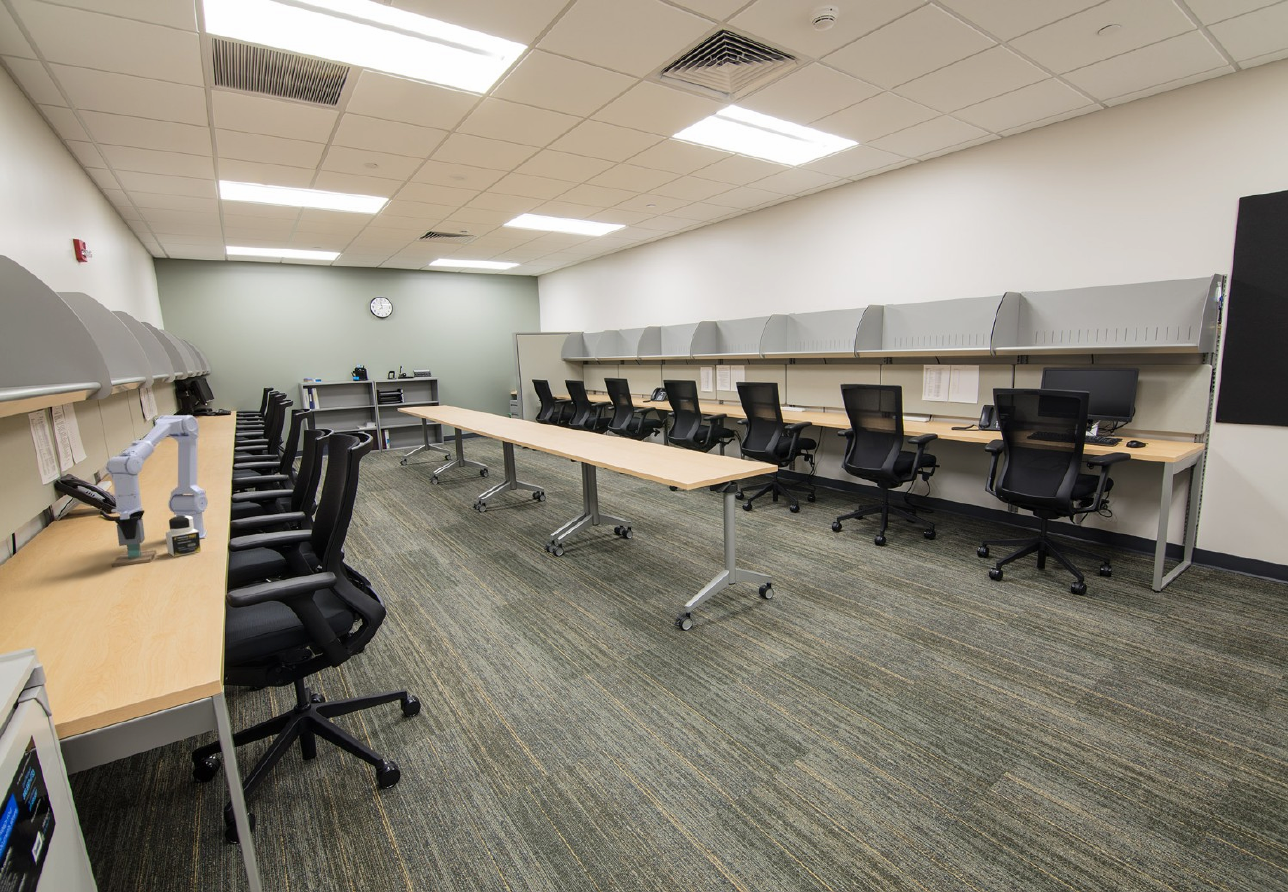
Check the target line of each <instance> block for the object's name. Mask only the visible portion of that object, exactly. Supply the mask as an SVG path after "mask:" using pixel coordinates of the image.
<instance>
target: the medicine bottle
mask: <svg viewBox="0 0 1288 892" xmlns="http://www.w3.org/2000/svg"><path fill="white" fill-rule="evenodd" d="M168 525H169V531H166V532H165V538H166V547H167V548H166V549H167V553H168V554H169V555H171V556H173V557H174V558H176V557H180V556H186V555H191V554H195V553H200V552H201V550H202V549H201V541H200V539H201V538H199V531H197V530H196V529H194V525H193V517H191V516H177V517H176V516H174V517H171V518H169V520H168Z"/></svg>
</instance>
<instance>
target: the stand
mask: <svg viewBox="0 0 1288 892" xmlns="http://www.w3.org/2000/svg"><path fill="white" fill-rule="evenodd" d="M140 544H141V543H140ZM140 544H132V545H126V550H127V553H123V554H118V556H117V557H116V558H115V560H113V562H112V563H111V568H115V566H117V567H122V566H123V567H124V566H129V565H130V564H131V565H138V564H139V565H140V564H145V563H151V562H152V561H153V559H154V557H156V555H157V549H155V550H147V551H141V545H140Z"/></svg>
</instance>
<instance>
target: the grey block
mask: <svg viewBox="0 0 1288 892" xmlns="http://www.w3.org/2000/svg"><path fill="white" fill-rule="evenodd" d="M144 527H145V526H144V520H143V519H139V520H138V522H137V526H136V536H135V539H128V540H126V539H125V537H124V535H123V532H122V530H121V528H120V527H119V525H118V524H117V523H116V531H117V537H118V539H117V540H118V546H119V547H121V546H122V547H124V546H127V545H132V544H143V542H144V541H145V539H146V537H145V528H144Z"/></svg>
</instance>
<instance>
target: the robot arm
mask: <svg viewBox="0 0 1288 892" xmlns="http://www.w3.org/2000/svg"><path fill="white" fill-rule="evenodd" d="M199 424H200V423H199V421H198V420H197V418H196V417H195V416H193V414H192V415H191V414H187V415H167V414H162V415H160V416H159V417H158V418H157V419H155V420H154V427H153V428H151V430H150V431H149V432H148V433H147V434H146V436H144V437H143V438H142V439H137V440H133V441H132V442H131V444H130V445H129V446H128V447H127V448H126V449H125V450H123V451H122V452H121V453H120V454H119V455H117V456H112V457H111V458H109V460H108V461H107V464H106V466H105V470H106V472H107V473H108V474H109V475H110V479H111V480H112V481H113V489H114V498H115V508H112V509H111V513H117V514H118V515H119V517H114V522H115V523H116V525H117V524H118V525H119V527H120V528H121V530H122V532H123V535H124V537H125V539H126V540H128V539H135V536H136V526H137V522H138V520H139V519H142V518H143V516H144V513H145V510H144V509H143V505H142V501H141V492H140V491H141V490H140V484H139V483H140V482H139V475H138V474H139V473H141V471H142V469H143V466H144V464H145V461H147V459H148V458H149V457H150V456H152V454H153V453H154V452H155V448H154V447H155V446H157V444H159V443H161V441H163V440H164V439H165V438H166V437H169V438H172V439H174V440H175V441H176V442H177V444H178V445H177V487H175V488H174V489H173V490H171V492H170V497H169V500H168V502H167V503H168V504H167V505H168V508H169V510H170V511H171V512H172V513H173V515H176V516H175V517H177V516H191V517H193V525H194V529H196V530H197V531H199V538H200V539H205V538H206V536H205V535H207V532H208V530H205V528H204V518H203V512H205V510H206V509H207V507H208V499H207V495H206V491H205V489H204V488H201V487H200V486H198V438H199V436H200V435H199V428H200V427H199Z"/></svg>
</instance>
